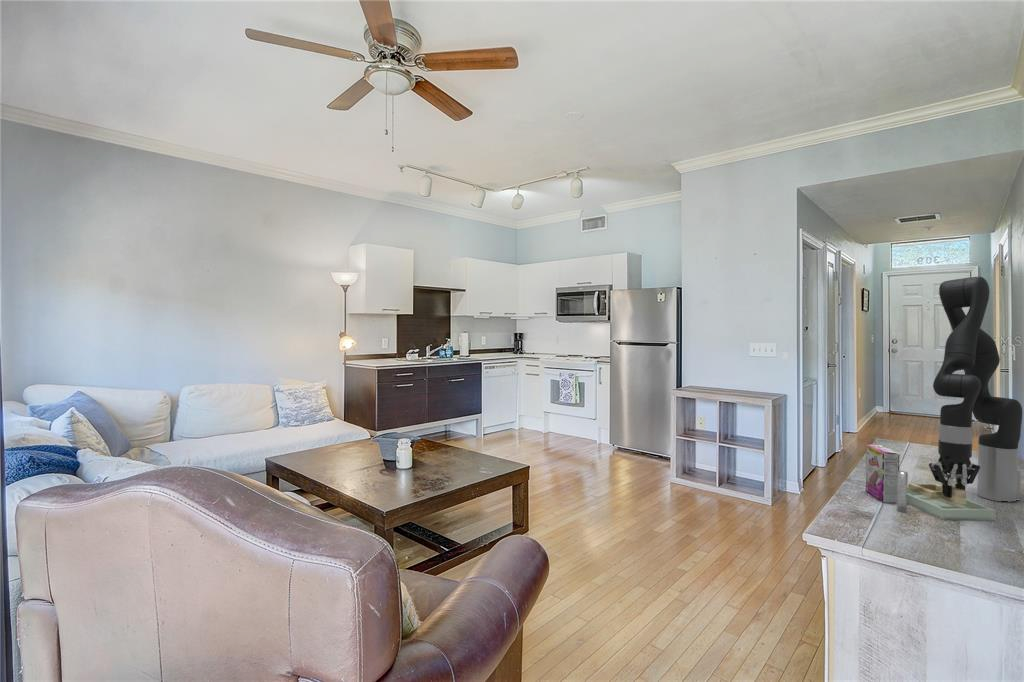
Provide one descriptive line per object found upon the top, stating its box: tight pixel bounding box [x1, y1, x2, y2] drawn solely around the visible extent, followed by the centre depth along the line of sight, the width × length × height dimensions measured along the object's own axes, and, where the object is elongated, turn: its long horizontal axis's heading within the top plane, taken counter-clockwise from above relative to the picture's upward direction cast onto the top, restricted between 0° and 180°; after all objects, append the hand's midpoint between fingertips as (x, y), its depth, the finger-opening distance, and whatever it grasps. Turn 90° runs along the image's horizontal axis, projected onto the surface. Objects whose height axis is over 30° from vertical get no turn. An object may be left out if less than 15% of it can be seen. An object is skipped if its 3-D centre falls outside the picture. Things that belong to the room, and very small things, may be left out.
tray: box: [907, 487, 996, 521], centre depth 153 cm, size 15×20×3 cm
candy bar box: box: [865, 444, 900, 504], centre depth 162 cm, size 11×5×16 cm, turn 168°
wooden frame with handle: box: [907, 483, 967, 504], centre depth 153 cm, size 14×9×4 cm, turn 179°
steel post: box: [896, 470, 909, 513], centre depth 150 cm, size 2×2×12 cm
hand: (953, 496), depth 148 cm, fingers closed on wooden frame with handle, 3 cm apart
